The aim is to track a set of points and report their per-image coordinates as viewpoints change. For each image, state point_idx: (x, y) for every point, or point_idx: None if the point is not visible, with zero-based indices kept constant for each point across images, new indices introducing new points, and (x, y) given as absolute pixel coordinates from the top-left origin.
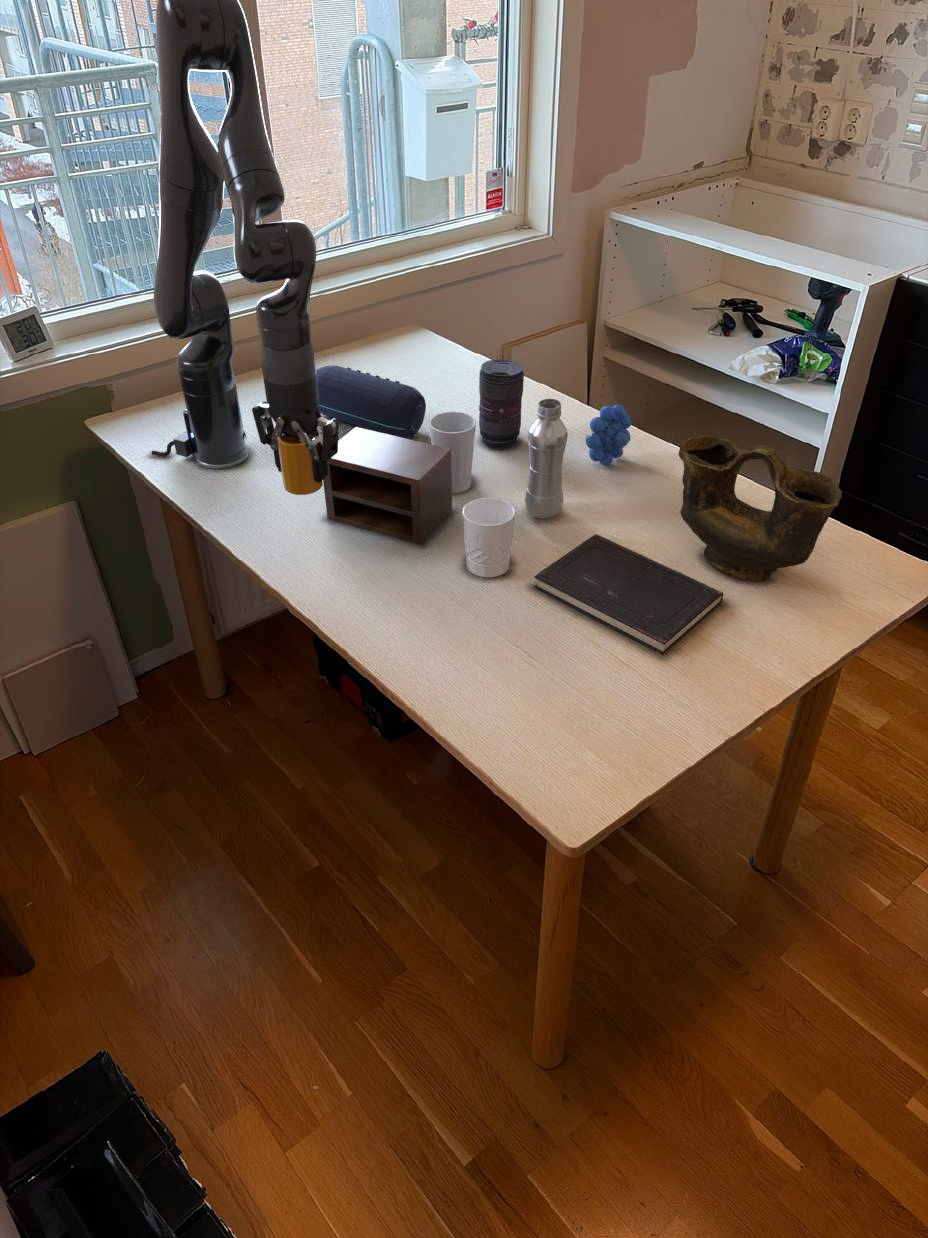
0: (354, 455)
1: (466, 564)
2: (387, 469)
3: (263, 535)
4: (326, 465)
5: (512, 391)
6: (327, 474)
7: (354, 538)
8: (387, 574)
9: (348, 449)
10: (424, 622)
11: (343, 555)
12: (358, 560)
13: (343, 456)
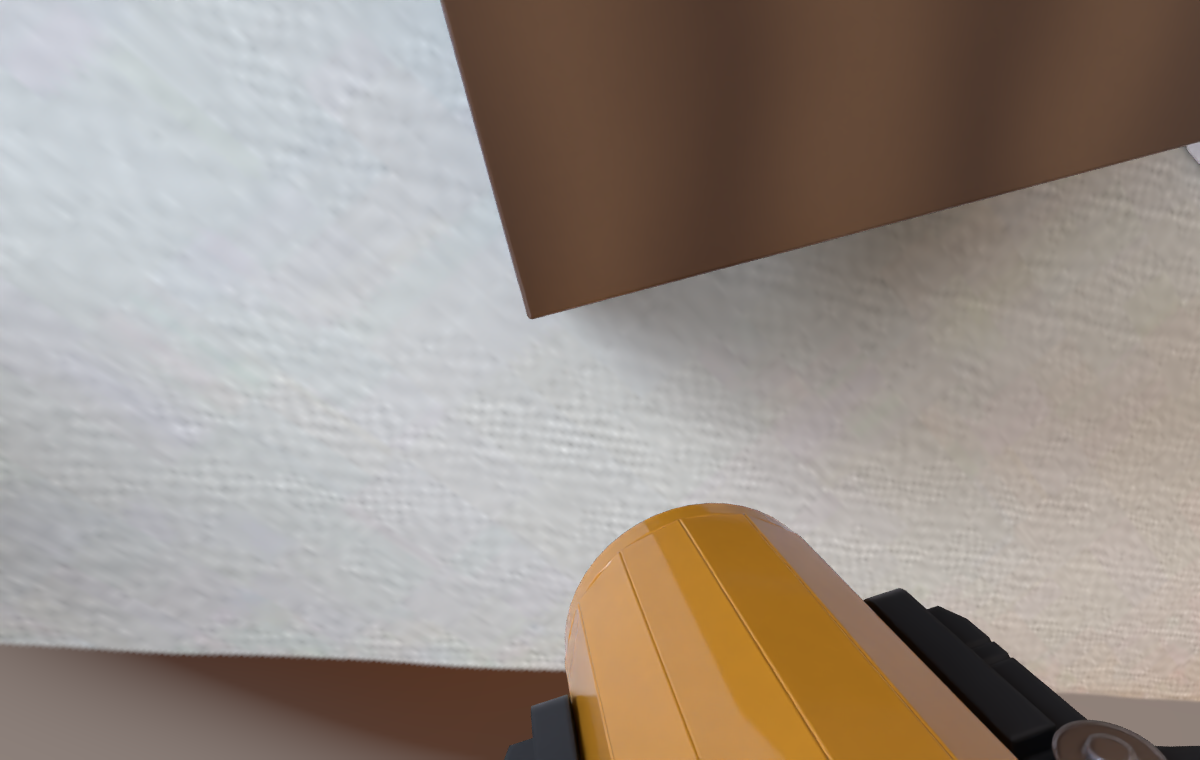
0: (779, 107)
1: (1194, 152)
2: (1147, 112)
3: (404, 536)
4: (1028, 679)
5: None
6: (949, 611)
7: (719, 300)
8: (967, 386)
9: (657, 52)
10: (1187, 483)
11: (763, 412)
12: (830, 396)
13: (709, 189)
